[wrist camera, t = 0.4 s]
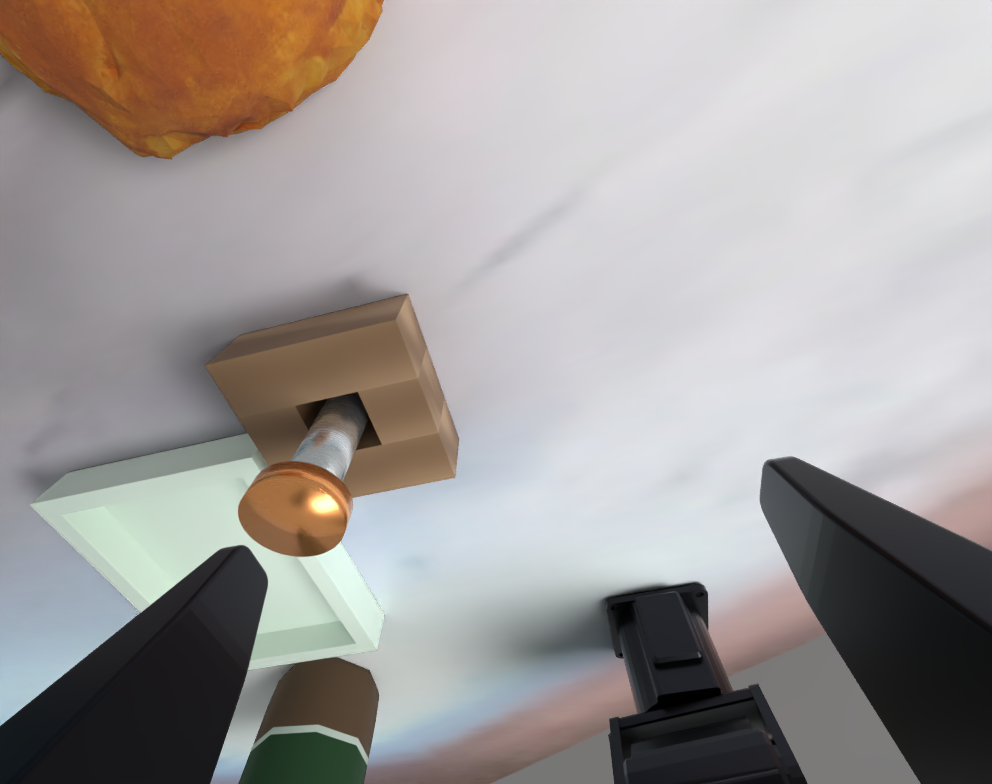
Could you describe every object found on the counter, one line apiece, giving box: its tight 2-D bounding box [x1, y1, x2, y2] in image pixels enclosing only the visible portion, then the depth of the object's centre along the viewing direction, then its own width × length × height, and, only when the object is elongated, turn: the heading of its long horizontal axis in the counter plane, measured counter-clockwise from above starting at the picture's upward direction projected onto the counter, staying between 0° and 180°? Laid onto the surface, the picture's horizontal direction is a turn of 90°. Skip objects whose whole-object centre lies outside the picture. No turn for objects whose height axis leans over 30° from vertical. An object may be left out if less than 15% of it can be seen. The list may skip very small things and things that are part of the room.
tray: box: [29, 433, 385, 670], centre depth 27 cm, size 16×12×2 cm
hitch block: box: [205, 294, 459, 498], centre depth 21 cm, size 8×8×3 cm
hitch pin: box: [238, 392, 369, 557], centre depth 19 cm, size 3×3×8 cm
